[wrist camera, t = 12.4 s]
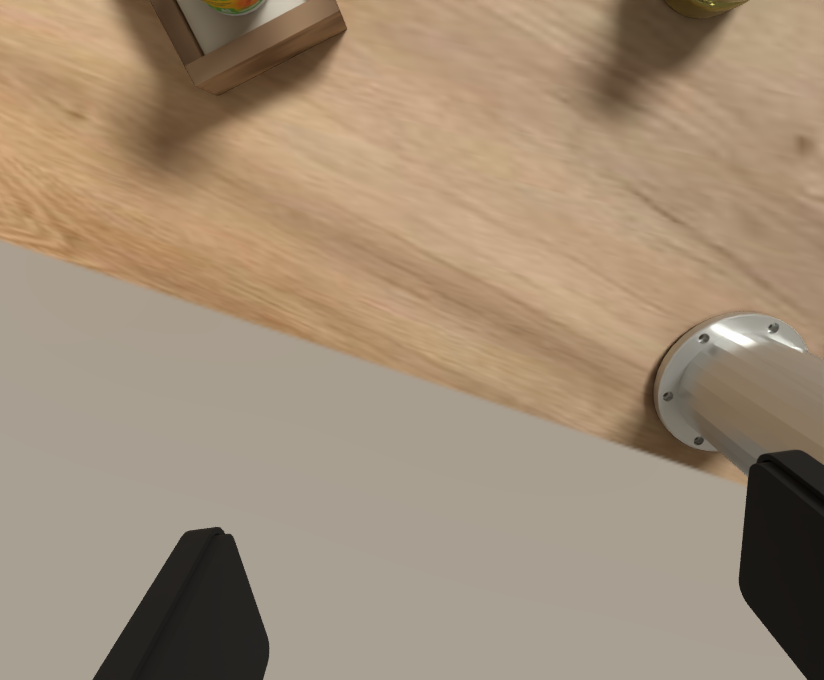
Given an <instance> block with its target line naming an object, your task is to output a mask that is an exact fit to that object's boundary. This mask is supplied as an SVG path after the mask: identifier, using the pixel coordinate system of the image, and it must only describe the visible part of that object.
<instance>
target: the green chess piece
mask: <svg viewBox="0 0 824 680" xmlns="http://www.w3.org/2000/svg"><path fill="white" fill-rule="evenodd" d="M665 1H666V3H667V4H668V5H669V6H670V7H671V8H672V9H674V10H675V11H676V12H678V13H680V14H682V15H684V16H687V17H691V18H709V17H713V16H717V15H719V14H722V13H724V12H726V11H728V10H730V9H733V8H736V7H738V6H740V5H742V4H744V3H746V2H747V1H749V0H665Z"/></svg>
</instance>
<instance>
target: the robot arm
mask: <svg viewBox="0 0 824 680" xmlns="http://www.w3.org/2000/svg"><path fill="white" fill-rule="evenodd" d="M653 398H654V404H655V409H656V412H657V414H658V417H659V419H660V421H661V422H662V423H663V425H664V426H665V428H666V429H667V430H668V431H669V432H670V433H671V434H672V435H673V436H674V437H675V438H677V439H678V440H680V441H681V442H683V443H684V444H686V445H688V446H690V447H693V448H695V449H700V450H705V451H716V452H720V453H721V454H722V455H724V456H725V457H726V458H727V459H728V460H729V461H730V462H732V463H733V464H734V465H735V466H736V467H737V468H738V469H739V470H741V471H742V472H743V473H744V474H745V475H746V476H747V477H748V486H747V496H746V507H745V518H744V528H743V540H742V550H741V561H740V572H739V586H740V590H741V593H742V595H743V597H744V599H745V601H746V602H747V604H748V605H749V606H750V608H751V609H752V610H753V612H754V613H755V614H756V615H757V617H758V618H759V619H760V620H761V622H762V623H763V624H764V625H765V627H766V628H767V629H768V631H769V632H770V633H771V634H772V636H773V637H774V638H775V639H776V641H777V642H778V643H779V644H780V646H781V647H782V648H783V649H784V651H785V652H786V653H787V654H788V656H789V657H790V658H791V659H792V661H793V662H794V663H795V664H796V666H797V667H798V668H799V670H800V671H801V672H802V673H803V675H804V676H805V677H806V678H807V680H824V359H823V358H821V357H819V356H816V355H814V354H812V353H810V352H808V348H807V346H806V344H805V342H804V340H803V339H802V337H801V336H800V335H799V333H798V332H797V331H796V330H795V329H794V328H793V327H791V326H790V325H788V324H787V323H785V322H783V321H782V320H779V319H777V318H774V317H772V316H769V315H766V314H762V313H757V312H744V311H739V312H733V313H726V314H722V315H719V316H716V317H713V318H710V319H708V320H706V321H704V322H703V323H701V324H699V325H697V326H695V327H694V328H692V329H691V330H690V331H688V332H687V333H686V334H684V335H683V336H682V337H681V338H680V339H679V340H678V341H677V342H676V343H675V344H674V345H673V346H672V347H671V349H670V350H669V352H668V353H667V354H666V356H665V357H664V359H663V361H662V363H661V365H660V367H659V369H658V372H657V375H656V379H655V383H654V394H653ZM268 659H269V641H268V637H267V634H266V631H265V628H264V625H263V622H262V619H261V616H260V614H259V611H258V607H257V605H256V602H255V599H254V596H253V593H252V590H251V587H250V584H249V581H248V578H247V575H246V572H245V569H244V566H243V564H242V561H241V558H240V555H239V552H238V549H237V546H236V543H235V541H234V538H233V536H232V535H231V534H225V533H224V531H223V530H222V529H221V528H220V527H214V528H207V529H198V530H191V531H187V532H185V533H184V534H183V536H182V537H181V538H180V540H179V542H178V543H177V545H176V546H175V548H174V550H173V551H172V553H171V554H170V556H169V558H168V559H167V561H166V563H165V564H164V566H163V567H162V569H161V571H160V572H159V574H158V575H157V577H156V579H155V580H154V582H153V583H152V585H151V587H150V588H149V590H148V591H147V593H146V595H145V596H144V598H143V600H142V601H141V603H140V604H139V606H138V608H137V609H136V611H135V612H134V614H133V616H132V617H131V619H130V620H129V622H128V624H127V625H126V627H125V628H124V630H123V632H122V633H121V635H120V636H119V638H118V640H117V641H116V643H115V644H114V646H113V648H112V649H111V651H110V653H109V654H108V656H107V657H106V659H105V660H104V662H103V664H102V665H101V667H100V669H99V670H98V672H97V673H96V675H95V677H94V678H93V680H263V677H264V674H265V670H266V667H267V663H268Z"/></svg>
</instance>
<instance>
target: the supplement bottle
mask: <svg viewBox="0 0 824 680" xmlns="http://www.w3.org/2000/svg"><path fill="white" fill-rule="evenodd" d="M201 1H202V2H203V3H205V4H206V5H207V6H209V7H210V8H212V9H213V10H215V11H217V12H220V13H222V14H226V15H231V16H239V15H245V14H248V13H251V12H253V11H254V10H256V9H257V8H259V7H260V6H261V5H262V4H263V3H264V2H265V1H266V0H201Z"/></svg>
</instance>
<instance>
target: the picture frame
mask: <svg viewBox="0 0 824 680" xmlns="http://www.w3.org/2000/svg"><path fill="white" fill-rule="evenodd" d="M150 2H151V4H152V6H153V7H154V9H155V11H156V13H157V15H158V17H159V19H160V21H161V22H162V24H163V26H164V28H165V30H166V32H167V34H168V36H169V38H170V39H171V41H172V43H173V45H174V47H175V49H176V51H177V53H178V55H179V56H180V58H181V60H182V62H183V64H184V66H185V68H186V70H187V72H188V73H189V75H190V77H191V79H192V81H193V83H194V85H195V86H196V87H198V88H201V89H203V90H206V91H208V92H210V93H213V94H215V95H220V94H222V93H224V92H226V91H228V90H230V89H232V88H234V87H236V86H238V85H240V84H241V83H243V82H245V81H247V80H249V79H251V78H253V77H255V76H257V75H259V74H261V73H263V72H265V71H267V70H269V69H270V68H272V67H274V66H276V65H278V64H280V63H282V62H284V61H286V60H288V59H290V58H292V57H294V56H296V55H297V54H299V53H301V52H303V51H305V50H307V49H309V48H311V47H313V46H315V45H317V44H319V43H321V42H323V41H325V40H326V39H328V38H330V37H332V36H334V35H336V34H338V33H340V32H342V31H344V30H346V29H347V27H346V25H345V22H344V20H343V17H342V14H341V12H340V9H339V7H338V5H337V2H336V0H266V1H265V2H264V3H263V4H262V5H261V6H260V7H259V8H257V9H256V10H254V11H253V12H251V13H248V14H245V15H239V16H231V15H226V14H222V13H220V12H217V11H215V10H213V9H212V8H210V7H209V6H207V5H206V4H205V3H203V2H202V1H201V0H150Z"/></svg>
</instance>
